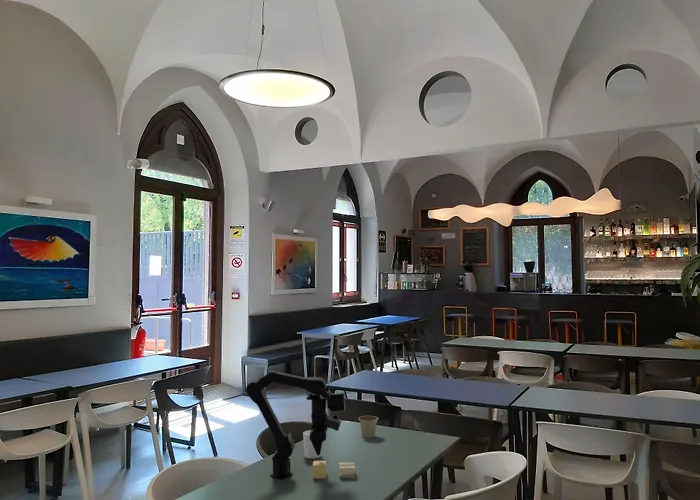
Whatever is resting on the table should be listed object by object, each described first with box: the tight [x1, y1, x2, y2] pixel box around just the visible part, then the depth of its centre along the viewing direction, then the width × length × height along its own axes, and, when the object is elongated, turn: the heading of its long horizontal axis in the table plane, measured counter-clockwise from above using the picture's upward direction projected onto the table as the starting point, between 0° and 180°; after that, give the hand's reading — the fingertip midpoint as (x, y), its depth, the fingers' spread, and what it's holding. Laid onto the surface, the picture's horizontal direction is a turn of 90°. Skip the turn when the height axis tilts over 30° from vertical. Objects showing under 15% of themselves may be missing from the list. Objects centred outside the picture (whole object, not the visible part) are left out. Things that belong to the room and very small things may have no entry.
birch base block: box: [338, 462, 356, 479], centre depth 216 cm, size 6×6×4 cm
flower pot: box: [358, 415, 379, 439], centre depth 266 cm, size 9×9×9 cm
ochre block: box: [312, 460, 327, 479], centre depth 216 cm, size 5×5×5 cm
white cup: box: [302, 429, 322, 460], centre depth 239 cm, size 8×8×10 cm
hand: (319, 451), depth 216 cm, fingers open, 9 cm apart
